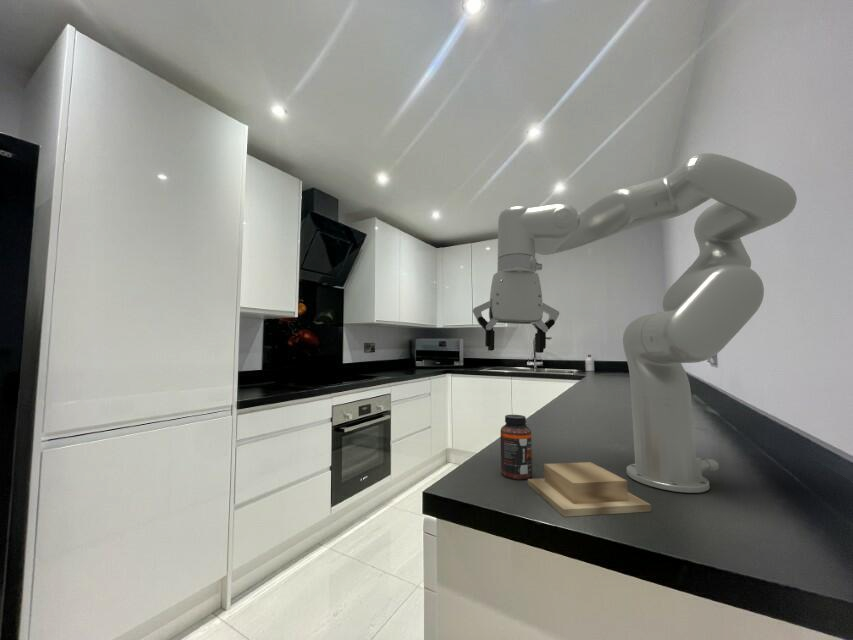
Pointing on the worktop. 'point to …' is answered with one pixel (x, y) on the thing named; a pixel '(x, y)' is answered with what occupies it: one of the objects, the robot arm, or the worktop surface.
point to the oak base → (586, 507)
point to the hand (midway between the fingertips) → (515, 351)
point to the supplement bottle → (516, 448)
